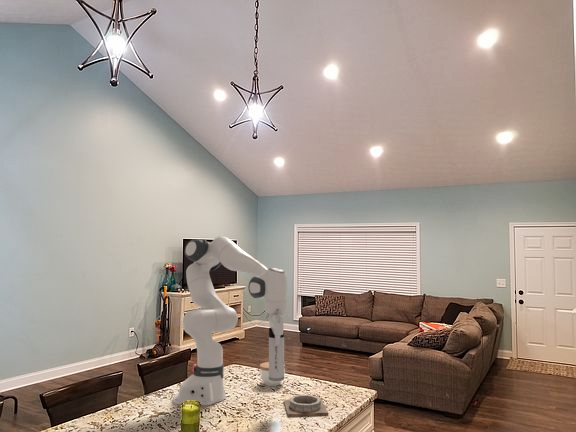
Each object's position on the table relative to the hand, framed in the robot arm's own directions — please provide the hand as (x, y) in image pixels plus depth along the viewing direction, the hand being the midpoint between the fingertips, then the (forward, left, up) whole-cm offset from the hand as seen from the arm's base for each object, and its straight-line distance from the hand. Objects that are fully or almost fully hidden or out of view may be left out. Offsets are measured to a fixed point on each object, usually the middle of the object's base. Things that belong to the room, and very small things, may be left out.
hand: (276, 342), depth 173 cm
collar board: (+12, +3, -27) cm, 30 cm away
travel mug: (0, 0, -14) cm, 14 cm away
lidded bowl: (+1, +38, -28) cm, 47 cm away
